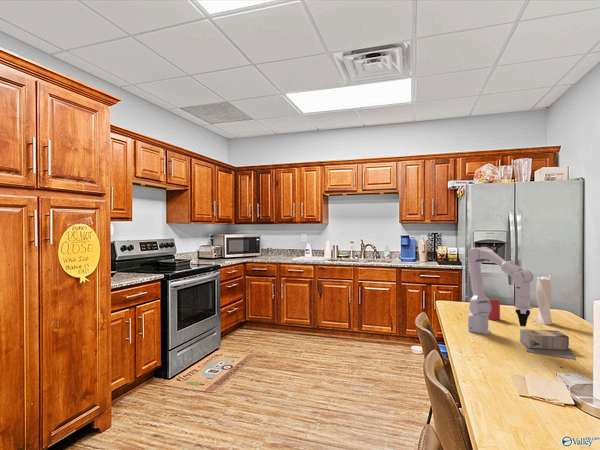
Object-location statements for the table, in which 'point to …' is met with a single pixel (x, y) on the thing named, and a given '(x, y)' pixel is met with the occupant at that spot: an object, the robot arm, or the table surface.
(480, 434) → the table surface
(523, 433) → the table surface
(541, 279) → the skyscraper
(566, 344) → the coffee box
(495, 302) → the beer can
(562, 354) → the mat
